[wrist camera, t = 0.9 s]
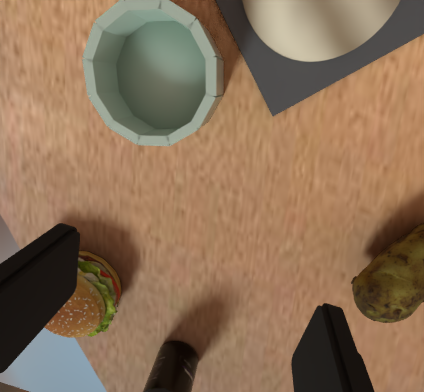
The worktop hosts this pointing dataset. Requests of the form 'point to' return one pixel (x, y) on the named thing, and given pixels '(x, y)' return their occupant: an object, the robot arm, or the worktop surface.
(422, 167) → the worktop surface
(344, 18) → the lid
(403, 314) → the potato
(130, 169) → the worktop surface
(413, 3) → the mat
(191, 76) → the bowl
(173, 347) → the supplement bottle
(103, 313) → the food
